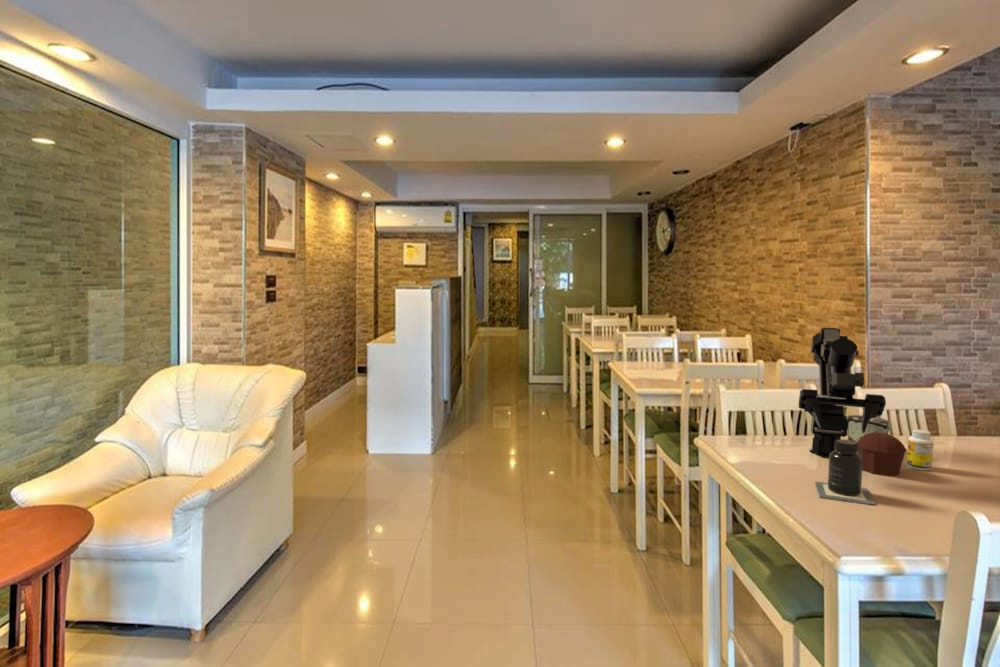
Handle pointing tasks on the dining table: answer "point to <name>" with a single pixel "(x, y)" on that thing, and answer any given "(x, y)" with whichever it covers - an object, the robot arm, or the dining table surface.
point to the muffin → (881, 453)
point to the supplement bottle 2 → (920, 450)
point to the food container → (872, 426)
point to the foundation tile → (826, 493)
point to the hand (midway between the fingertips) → (842, 430)
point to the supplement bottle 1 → (845, 468)
